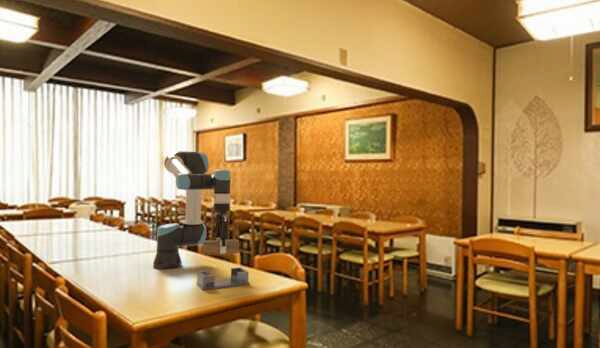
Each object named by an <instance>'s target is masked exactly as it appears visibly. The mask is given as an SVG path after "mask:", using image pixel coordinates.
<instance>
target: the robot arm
mask: <svg viewBox="0 0 600 348" xmlns="http://www.w3.org/2000/svg"><path fill="white" fill-rule="evenodd" d="M209 162H210V161H209V157H208V156H207V154H206V153H205V152H202V151H201V152H200V151H182V150H181V151H180V150H179V151H172V152H171V153H170V154H168V155H167V156H166V157H165V160H164V167H165V169H166V171H167V172H168V173H171V174H172V175H173V176H174V177H175V185H176V188H177V189H178V190H184V191H185V215H184V216H185V217H184V220H183V221H182V225H180V224H179V223H166V224H162V225H160V226H158V227H157V231H156V232H157V233H156V253H155V256H154V260H153V263H152V266H153V268H155V269H161V270H167V269H168V270H169V269H177V268H179V267H181V266H182V264H183V263H182V259H181V256H180V253H179V250H180V249H179V248H180V247H191V246H199V245H203V241H206V238H207V226H206V225H205V224H204V221H203V220H202V219H201V218H202V191H203V190H213V196H212V198H213V202H214V203H213V211H214V212H217V214H215V215H214V217H215V229H214V230H215V233H214V235H215V236H216V237H215V238H216V240H220V254H221V255H225V254H224V253H226V240H228V238H229V216H228V215H227V212H230V211H231V203H230V202H231V177H232V176H231V172H230V170H229V169H214V171H213V173H207V172H209V167H210V164H209Z"/></svg>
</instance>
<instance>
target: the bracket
mask: <svg viewBox="0 0 600 348" xmlns="http://www.w3.org/2000/svg"><path fill="white" fill-rule="evenodd" d="M249 273H250V272H249V271H248V270H247V269H245V268H243V267H238V266H237V267H231V268H230V277H229V278H223V279H222V278H220V279H215V277H216V276H215V274H210V270H200V271H197V281H196V286H198V287H199V288H200V289H201V290H202V291H207V290H208V291H209V290H215V289H216V290H217V289H223V288H224V289H225V288H233V287H241V286H243V287H244V286H249V285H250V281H249Z"/></svg>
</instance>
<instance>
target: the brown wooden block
mask: <svg viewBox="0 0 600 348" xmlns="http://www.w3.org/2000/svg"><path fill="white" fill-rule="evenodd" d="M202 254H203V255H204V256H217V255H222V254H220V240H217V239H208V240H207V239H205V241H203V244H202ZM234 254H240V240H239V239H236V238H233V239H231V238H230V239H226V253H224V254H223V255H234Z"/></svg>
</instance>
